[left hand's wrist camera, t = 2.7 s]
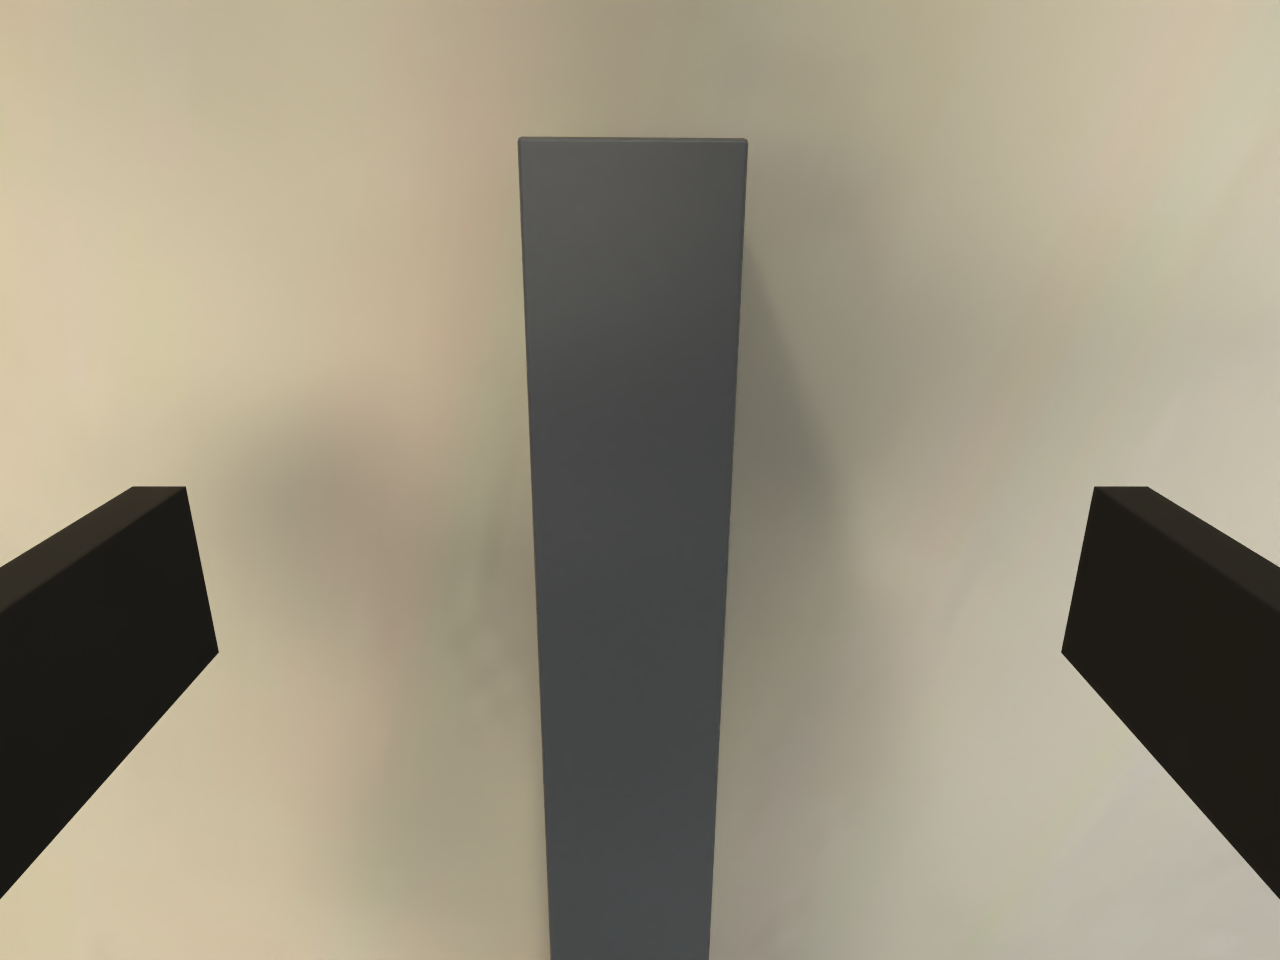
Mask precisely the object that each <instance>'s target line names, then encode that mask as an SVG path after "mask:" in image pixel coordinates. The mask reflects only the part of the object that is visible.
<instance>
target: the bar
mask: <svg viewBox="0 0 1280 960" xmlns="http://www.w3.org/2000/svg"><path fill="white" fill-rule="evenodd" d="M747 155H748V142H747V140H746V139H744V138H630V137H520V138H519V139H518V162H519V187H520V212H521V237H522V262H523V286H524V311H525V336H526V361H527V386H528V411H529V436H530V460H531V485H532V510H533V535H534V560H535V585H536V610H537V634H538V659H539V684H540V709H541V734H542V759H543V784H544V808H545V833H546V858H547V883H548V908H549V933H550V958H551V960H709V944H710V923H711V903H712V882H713V861H714V840H715V819H716V799H717V778H718V757H719V736H720V716H721V695H722V674H723V653H724V632H725V612H726V591H727V570H728V549H729V529H730V508H731V487H732V466H733V446H734V425H735V404H736V383H737V362H738V342H739V321H740V300H741V279H742V259H743V238H744V217H745V196H746V176H747Z"/></svg>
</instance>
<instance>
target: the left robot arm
mask: <svg viewBox="0 0 1280 960" xmlns="http://www.w3.org/2000/svg"><path fill="white" fill-rule="evenodd" d="M218 653H219V651H218V646H217V641H216V636H215V631H214V626H213V621H212V616H211V611H210V606H209V601H208V596H207V591H206V586H205V581H204V576H203V571H202V566H201V561H200V556H199V551H198V546H197V541H196V536H195V531H194V526H193V521H192V516H191V511H190V506H189V501H188V496H187V491H186V487H131V488H130V489H128V490H126V491H125V492H123V493H121V494H120V495H118V496H116V497H115V498H113V499H112V500H110V501H108V502H107V503H105V504H103V505H102V506H100V507H98V508H97V509H95V510H94V511H92V512H90V513H89V514H87V515H85V516H84V517H82V518H80V519H79V520H77V521H76V522H74V523H72V524H71V525H69V526H67V527H66V528H64V529H62V530H61V531H59V532H58V533H56V534H54V535H53V536H51V537H49V538H48V539H46V540H44V541H43V542H41V543H40V544H38V545H36V546H35V547H33V548H31V549H30V550H28V551H26V552H25V553H23V554H22V555H20V556H18V557H17V558H15V559H13V560H12V561H10V562H8V563H7V564H5V565H4V566H2V567H0V899H1V898H2V897H3V896H4V894H5V893H6V892H7V891H8V890H9V889H10V888H11V886H12V885H13V884H14V883H15V882H16V881H17V880H18V879H19V877H20V876H21V875H22V874H23V873H24V872H25V871H26V870H27V868H28V867H29V866H30V865H31V864H32V863H33V862H34V861H35V859H36V858H37V857H38V856H39V855H40V854H41V853H42V851H43V850H44V849H45V848H46V847H47V846H48V845H49V844H50V842H51V841H52V840H53V839H54V838H55V837H56V836H57V835H58V833H59V832H60V831H61V830H62V829H63V828H64V827H65V825H66V824H67V823H68V822H69V821H70V820H71V819H72V818H73V816H74V815H75V814H76V813H77V812H78V811H79V810H80V809H81V807H82V806H83V805H84V804H85V803H86V802H87V801H88V800H89V798H90V797H91V796H92V795H93V794H94V793H95V792H96V790H97V789H98V788H99V787H100V786H101V785H102V784H103V783H104V781H105V780H106V779H107V778H108V777H109V776H110V775H111V774H112V772H113V771H114V770H115V769H116V768H117V767H118V766H119V765H120V763H121V762H122V761H123V760H124V759H125V758H126V757H127V755H128V754H129V753H130V752H131V751H132V750H133V749H134V748H135V746H136V745H137V744H138V743H139V742H140V741H141V740H142V739H143V737H144V736H145V735H146V734H147V733H148V732H149V731H150V729H151V728H152V727H153V726H154V725H155V724H156V723H157V722H158V720H159V719H160V718H161V717H162V716H163V715H164V714H165V713H166V711H167V710H168V709H169V708H170V707H171V706H172V705H173V704H174V702H175V701H176V700H177V699H178V698H179V697H180V696H181V694H182V693H183V692H184V691H185V690H186V689H187V688H188V687H189V685H190V684H191V683H192V682H193V681H194V680H195V679H196V678H197V676H198V675H199V674H200V673H201V672H202V671H203V670H204V668H205V667H206V666H207V665H208V664H209V663H210V662H211V661H212V659H213V658H214V657H215V656H216V655H217V654H218ZM1061 653H1062V654H1063V655H1064V656H1065V657H1066V658H1067V659H1068V661H1069V662H1070V663H1071V664H1072V665H1073V666H1074V667H1075V668H1076V670H1077V671H1078V672H1079V673H1080V674H1081V675H1082V676H1083V678H1084V679H1085V680H1086V681H1087V682H1088V683H1089V684H1090V685H1091V687H1092V688H1093V689H1094V690H1095V691H1096V692H1097V693H1098V694H1099V696H1100V697H1101V698H1102V699H1103V700H1104V701H1105V702H1106V704H1107V705H1108V706H1109V707H1110V708H1111V709H1112V710H1113V711H1114V713H1115V714H1116V715H1117V716H1118V717H1119V718H1120V719H1121V720H1122V722H1123V723H1124V724H1125V725H1126V726H1127V727H1128V728H1129V729H1130V731H1131V732H1132V733H1133V734H1134V735H1135V736H1136V737H1137V739H1138V740H1139V741H1140V742H1141V743H1142V744H1143V745H1144V746H1145V748H1146V749H1147V750H1148V751H1149V752H1150V753H1151V754H1152V755H1153V757H1154V758H1155V759H1156V760H1157V761H1158V762H1159V763H1160V765H1161V766H1162V767H1163V768H1164V769H1165V770H1166V771H1167V772H1168V774H1169V775H1170V776H1171V777H1172V778H1173V779H1174V780H1175V781H1176V783H1177V784H1178V785H1179V786H1180V787H1181V788H1182V789H1183V790H1184V792H1185V793H1186V794H1187V795H1188V796H1189V797H1190V798H1191V800H1192V801H1193V802H1194V803H1195V804H1196V805H1197V806H1198V807H1199V809H1200V810H1201V811H1202V812H1203V813H1204V814H1205V815H1206V816H1207V818H1208V819H1209V820H1210V821H1211V822H1212V823H1213V824H1214V826H1215V827H1216V828H1217V829H1218V830H1219V831H1220V832H1221V833H1222V835H1223V836H1224V837H1225V838H1226V839H1227V840H1228V841H1229V842H1230V844H1231V845H1232V846H1233V847H1234V848H1235V849H1236V850H1237V851H1238V853H1239V854H1240V855H1241V856H1242V857H1243V858H1244V859H1245V861H1246V862H1247V863H1248V864H1249V865H1250V866H1251V867H1252V868H1253V870H1254V871H1255V872H1256V873H1257V874H1258V875H1259V876H1260V877H1261V879H1262V880H1263V881H1264V882H1265V883H1266V884H1267V885H1268V886H1269V888H1270V889H1271V890H1272V891H1273V892H1274V893H1275V894H1276V896H1277V897H1278V898H1279V899H1280V567H1278V566H1276V565H1275V564H1273V563H1272V562H1270V561H1268V560H1267V559H1265V558H1263V557H1262V556H1260V555H1258V554H1257V553H1255V552H1254V551H1252V550H1250V549H1249V548H1247V547H1245V546H1244V545H1242V544H1240V543H1239V542H1237V541H1236V540H1234V539H1232V538H1231V537H1229V536H1227V535H1226V534H1224V533H1222V532H1221V531H1219V530H1218V529H1216V528H1214V527H1213V526H1211V525H1209V524H1208V523H1206V522H1204V521H1203V520H1201V519H1200V518H1198V517H1196V516H1195V515H1193V514H1191V513H1190V512H1188V511H1186V510H1185V509H1183V508H1182V507H1180V506H1178V505H1177V504H1175V503H1173V502H1172V501H1170V500H1168V499H1167V498H1165V497H1164V496H1162V495H1160V494H1159V493H1157V492H1155V491H1154V490H1152V489H1150V488H1149V487H1094V491H1093V496H1092V501H1091V506H1090V511H1089V516H1088V521H1087V526H1086V531H1085V536H1084V541H1083V546H1082V551H1081V556H1080V561H1079V566H1078V571H1077V576H1076V581H1075V586H1074V591H1073V596H1072V601H1071V606H1070V611H1069V616H1068V621H1067V626H1066V631H1065V636H1064V641H1063V646H1062V651H1061Z"/></svg>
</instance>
